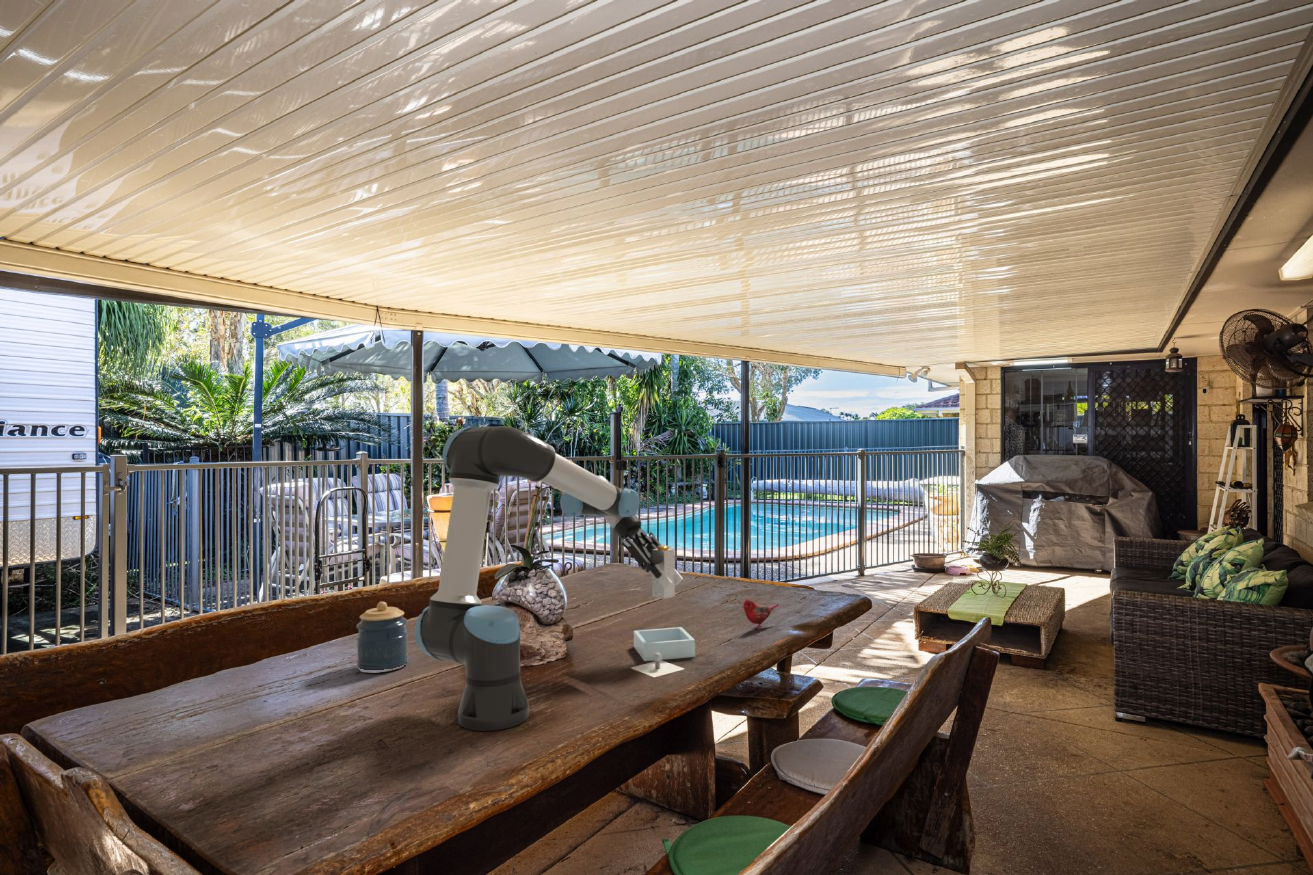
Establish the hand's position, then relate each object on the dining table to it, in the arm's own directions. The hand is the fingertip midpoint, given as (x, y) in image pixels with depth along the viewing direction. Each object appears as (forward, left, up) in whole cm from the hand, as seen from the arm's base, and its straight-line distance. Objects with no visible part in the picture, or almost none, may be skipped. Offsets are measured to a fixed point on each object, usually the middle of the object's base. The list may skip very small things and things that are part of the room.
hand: (674, 583), depth 199 cm
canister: (-78, +16, -21) cm, 82 cm away
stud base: (-8, -11, -20) cm, 25 cm away
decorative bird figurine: (+34, +24, -21) cm, 47 cm away
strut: (-3, +3, -4) cm, 5 cm away
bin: (-3, +3, -20) cm, 21 cm away
